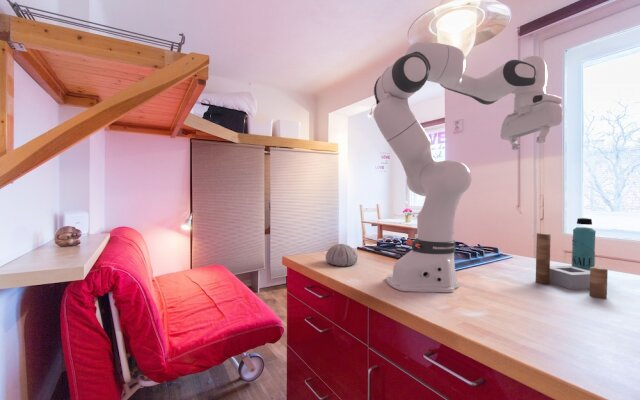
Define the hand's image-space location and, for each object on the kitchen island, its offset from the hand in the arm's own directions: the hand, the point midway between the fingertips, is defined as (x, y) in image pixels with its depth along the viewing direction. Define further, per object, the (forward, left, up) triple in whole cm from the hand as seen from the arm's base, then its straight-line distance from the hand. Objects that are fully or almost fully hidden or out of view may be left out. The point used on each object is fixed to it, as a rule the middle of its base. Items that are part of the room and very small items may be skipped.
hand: (527, 146), depth 99 cm
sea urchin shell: (-57, +29, -45) cm, 78 cm away
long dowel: (+3, -4, -45) cm, 45 cm away
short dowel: (+8, -17, -45) cm, 49 cm away
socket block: (+11, -6, -45) cm, 46 cm away
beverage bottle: (+28, +5, -45) cm, 53 cm away
